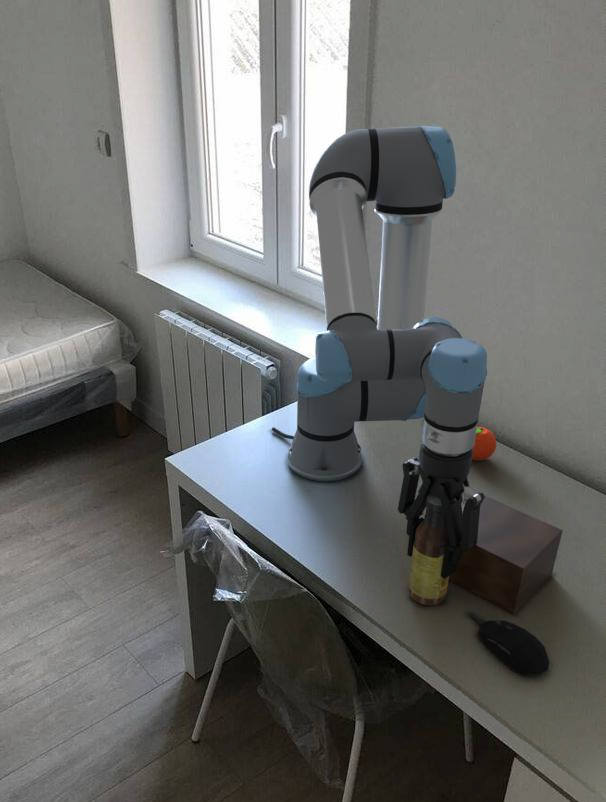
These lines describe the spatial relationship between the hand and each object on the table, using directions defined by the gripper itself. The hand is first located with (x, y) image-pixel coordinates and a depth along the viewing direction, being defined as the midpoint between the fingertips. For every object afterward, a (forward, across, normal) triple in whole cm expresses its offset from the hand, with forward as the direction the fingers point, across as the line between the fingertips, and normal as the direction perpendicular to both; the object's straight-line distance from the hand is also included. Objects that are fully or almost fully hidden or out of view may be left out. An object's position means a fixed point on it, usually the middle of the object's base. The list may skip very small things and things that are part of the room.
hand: (431, 562), depth 126 cm
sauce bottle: (+7, 0, 0) cm, 7 cm away
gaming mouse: (+7, +15, 0) cm, 17 cm away
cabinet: (+7, +4, +12) cm, 15 cm away
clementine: (+7, -20, +39) cm, 44 cm away
